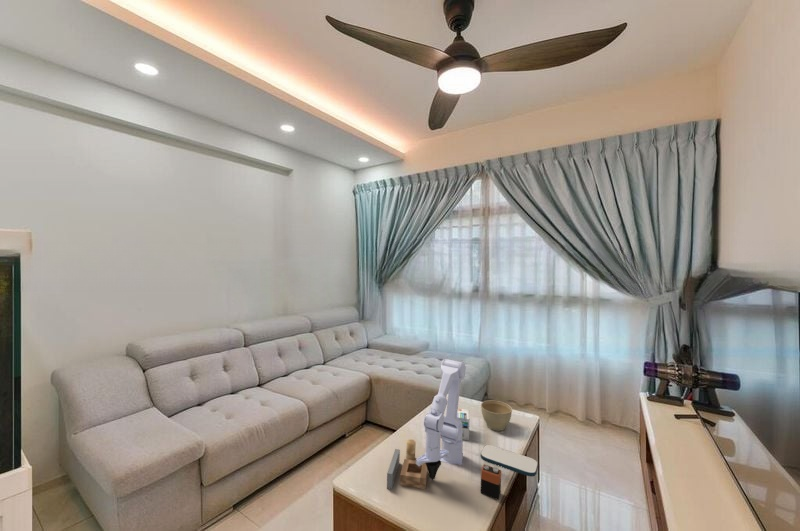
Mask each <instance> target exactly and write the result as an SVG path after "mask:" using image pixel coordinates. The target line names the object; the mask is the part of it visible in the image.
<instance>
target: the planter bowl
mask: <svg viewBox="0 0 800 531" xmlns="http://www.w3.org/2000/svg"><path fill="white" fill-rule="evenodd" d="M480 407H481V415H482V418H483V420H484V421H485V423H486V426H487V428H489V429H490V430H491V431H492V430H493V431H497V432H499V431H500V432H502V431H504V430H505V429H506V427H507V426H508V425H509V423H510V421H511V418H512V412H513V408H512V406H510V405H509V404H508V403H506V402H504V401H500V400H499V401H498V400H485V401H482V402H481V404H480Z"/></svg>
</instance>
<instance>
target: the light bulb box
mask: <svg viewBox="0 0 800 531" xmlns="http://www.w3.org/2000/svg"><path fill="white" fill-rule="evenodd" d="M457 417H458V419H459V420H460V421H461V422H462V429H463V434H462V438H461V440H465V441H470V410H469V409H465V408H458V411H457Z"/></svg>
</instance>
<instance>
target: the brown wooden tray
mask: <svg viewBox="0 0 800 531" xmlns="http://www.w3.org/2000/svg"><path fill="white" fill-rule="evenodd" d="M402 463H403V464H402V467H401V470H400V475H399V485H400V486H404V487H409V488H417V489H423V490H426V486H427V481H428V475H429V472H428V469H427V466H426V464H425V463H424V464H421V466H418V465H417V464H416V459H415V460H408V459H406V458H404V459H403V462H402Z"/></svg>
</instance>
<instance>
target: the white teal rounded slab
mask: <svg viewBox="0 0 800 531" xmlns="http://www.w3.org/2000/svg"><path fill="white" fill-rule="evenodd" d="M480 458H481V460H483V461H484V462H487V463H490V464H492V465H495V464H496V465H495V466H498V465H499V466H498V467H501V466H502V467H501V468H503V467H504V469H506V468H507V470H509V469H510V470H509V471H512V472H516V473H518V474H521V475H523V476H527V477H535V476H536V475H537V472H538V468H539V463H538V461H537V460H535V459H534V458H532V457H529V456H526V455H523V454H520V453H517V452H513V451H511V450H507V449H504V448H501V447H498V446H495V445H491V444H486V445H484V447H483V448H482V450H481V452H480Z"/></svg>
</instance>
